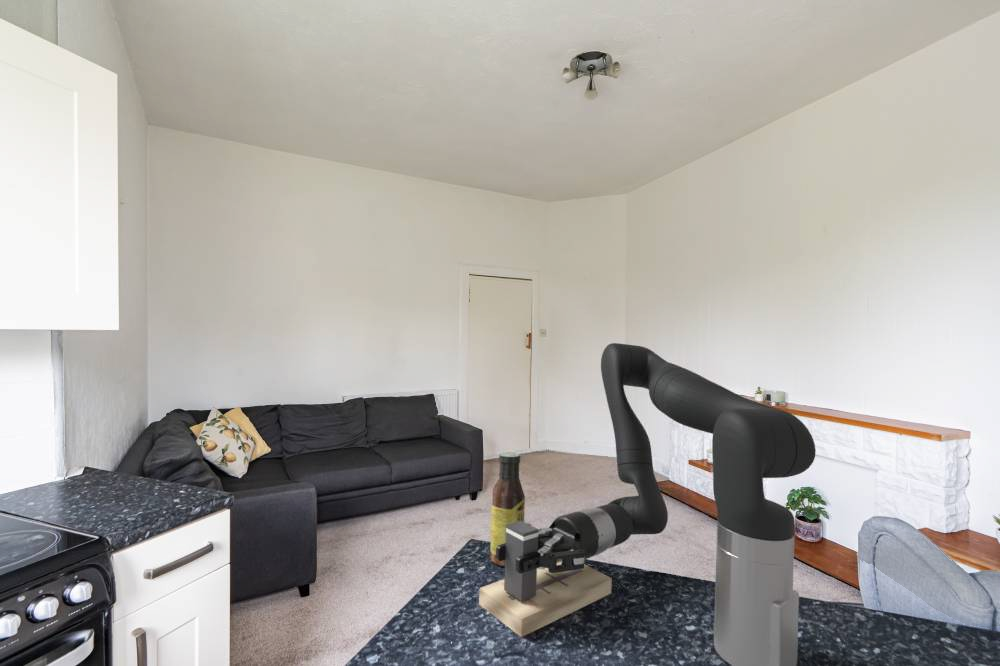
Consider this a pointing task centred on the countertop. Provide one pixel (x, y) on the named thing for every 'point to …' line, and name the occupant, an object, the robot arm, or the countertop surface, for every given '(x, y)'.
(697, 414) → the robot arm
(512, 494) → the sauce bottle
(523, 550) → the fader cap
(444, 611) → the countertop surface
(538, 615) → the fader console
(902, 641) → the countertop surface
